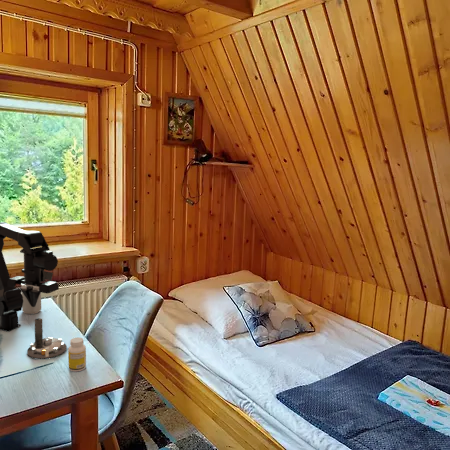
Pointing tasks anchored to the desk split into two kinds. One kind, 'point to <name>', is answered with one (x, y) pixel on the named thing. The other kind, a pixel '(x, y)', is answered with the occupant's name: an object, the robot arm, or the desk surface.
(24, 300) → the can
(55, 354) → the base plate
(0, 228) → the robot arm
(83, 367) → the supplement bottle
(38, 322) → the sprocket
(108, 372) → the desk surface
